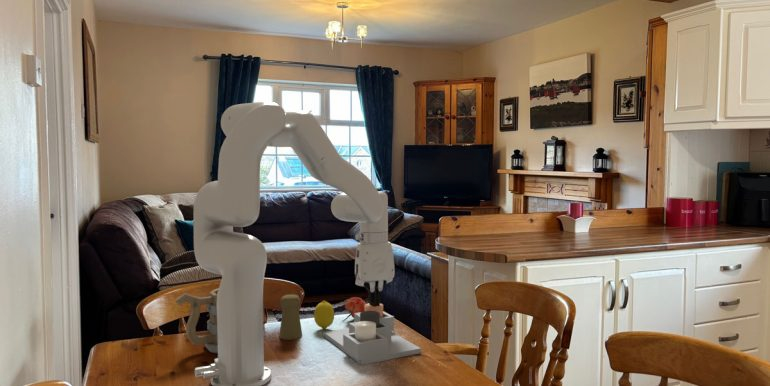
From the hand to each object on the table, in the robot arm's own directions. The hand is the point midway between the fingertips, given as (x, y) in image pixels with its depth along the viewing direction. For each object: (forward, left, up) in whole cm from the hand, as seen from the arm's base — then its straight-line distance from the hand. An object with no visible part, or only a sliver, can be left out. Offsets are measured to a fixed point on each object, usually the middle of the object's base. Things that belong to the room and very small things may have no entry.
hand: (374, 304), depth 153 cm
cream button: (-10, -15, -4) cm, 19 cm away
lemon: (-11, +9, -8) cm, 16 cm away
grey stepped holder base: (-5, -8, -8) cm, 12 cm away
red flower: (0, +12, -8) cm, 15 cm away
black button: (-5, -8, -4) cm, 10 cm away
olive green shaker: (-21, +8, -8) cm, 24 cm away
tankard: (-40, +8, -8) cm, 41 cm away
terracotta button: (0, 0, -4) cm, 4 cm away
